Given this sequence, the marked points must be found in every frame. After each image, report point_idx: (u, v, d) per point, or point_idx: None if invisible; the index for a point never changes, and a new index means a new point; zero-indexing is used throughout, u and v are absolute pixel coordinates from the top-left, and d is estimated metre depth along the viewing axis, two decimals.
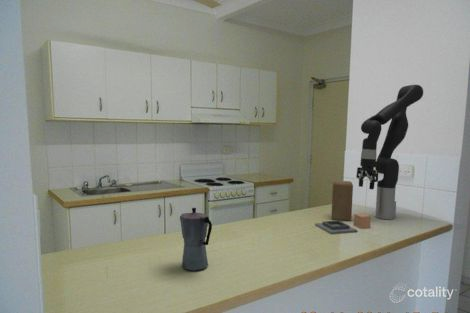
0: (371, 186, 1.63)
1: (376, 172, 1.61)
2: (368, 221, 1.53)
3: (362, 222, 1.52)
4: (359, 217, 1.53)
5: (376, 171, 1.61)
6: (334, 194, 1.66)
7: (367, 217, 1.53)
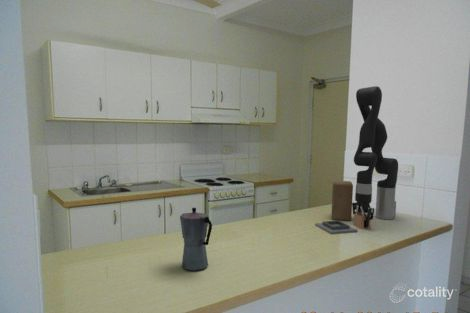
0: (365, 224, 1.52)
1: (372, 211, 1.49)
2: None
3: (362, 222, 1.52)
4: (359, 217, 1.53)
5: (372, 210, 1.49)
6: (334, 194, 1.66)
7: None
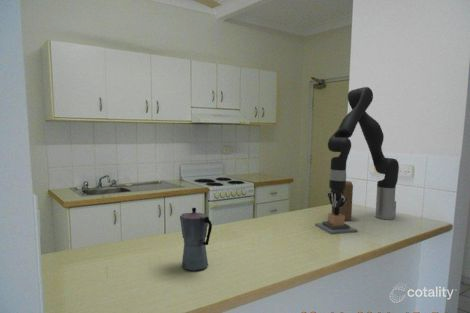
0: (336, 211, 1.50)
1: (344, 200, 1.45)
2: (342, 221, 1.49)
3: (335, 222, 1.48)
4: (332, 217, 1.49)
5: (344, 200, 1.45)
6: None
7: (341, 216, 1.49)
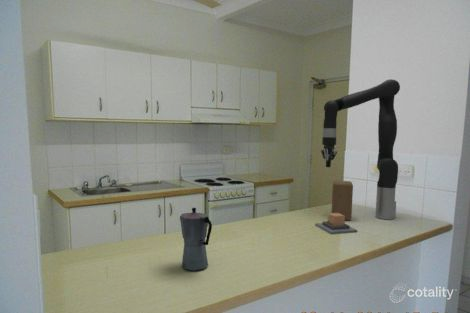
0: (328, 164, 1.76)
1: (334, 153, 1.72)
2: (342, 221, 1.49)
3: (335, 222, 1.48)
4: (332, 217, 1.49)
5: (334, 153, 1.71)
6: (334, 194, 1.66)
7: (341, 216, 1.49)
